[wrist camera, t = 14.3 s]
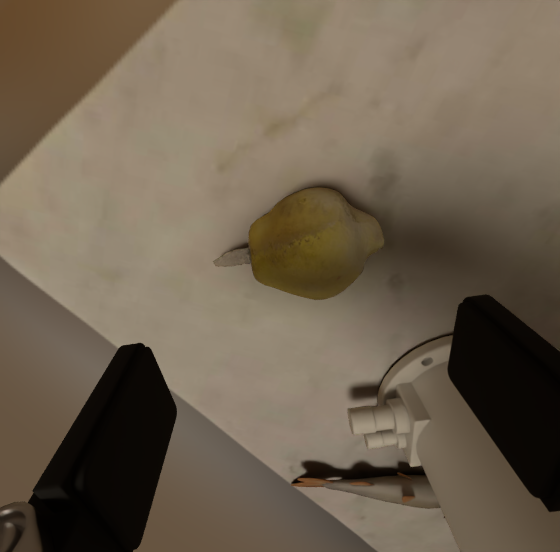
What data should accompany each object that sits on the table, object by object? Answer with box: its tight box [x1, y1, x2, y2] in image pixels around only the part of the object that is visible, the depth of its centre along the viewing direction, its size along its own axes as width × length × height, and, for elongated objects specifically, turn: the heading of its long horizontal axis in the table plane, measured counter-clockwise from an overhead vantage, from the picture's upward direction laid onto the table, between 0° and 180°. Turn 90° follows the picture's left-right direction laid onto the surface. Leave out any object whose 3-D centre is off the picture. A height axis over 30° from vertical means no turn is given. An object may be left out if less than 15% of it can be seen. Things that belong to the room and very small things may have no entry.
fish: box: [291, 472, 445, 518], centre depth 31 cm, size 4×21×5 cm
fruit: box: [213, 187, 384, 300], centre depth 18 cm, size 6×6×10 cm
